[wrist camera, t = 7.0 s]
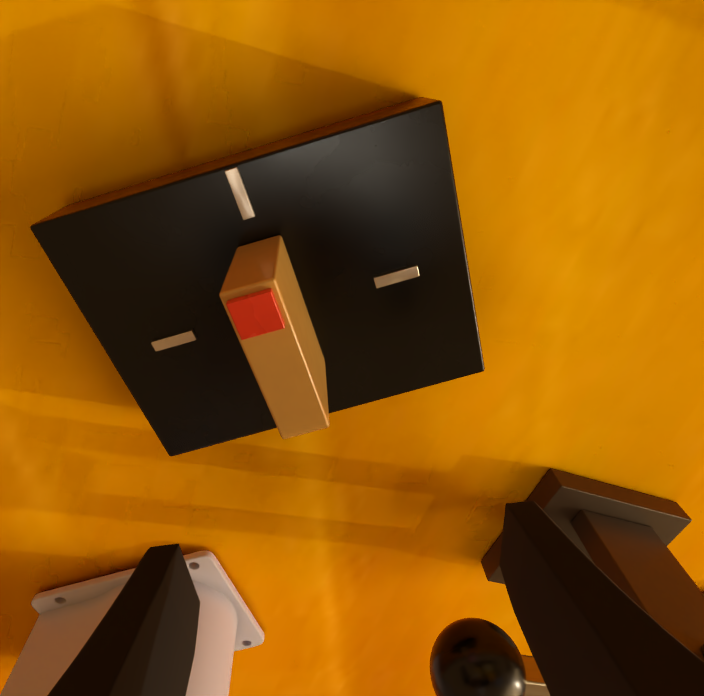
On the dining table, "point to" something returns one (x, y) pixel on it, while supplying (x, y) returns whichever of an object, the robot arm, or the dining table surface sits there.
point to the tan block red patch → (277, 336)
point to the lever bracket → (624, 547)
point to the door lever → (482, 663)
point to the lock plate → (307, 262)
